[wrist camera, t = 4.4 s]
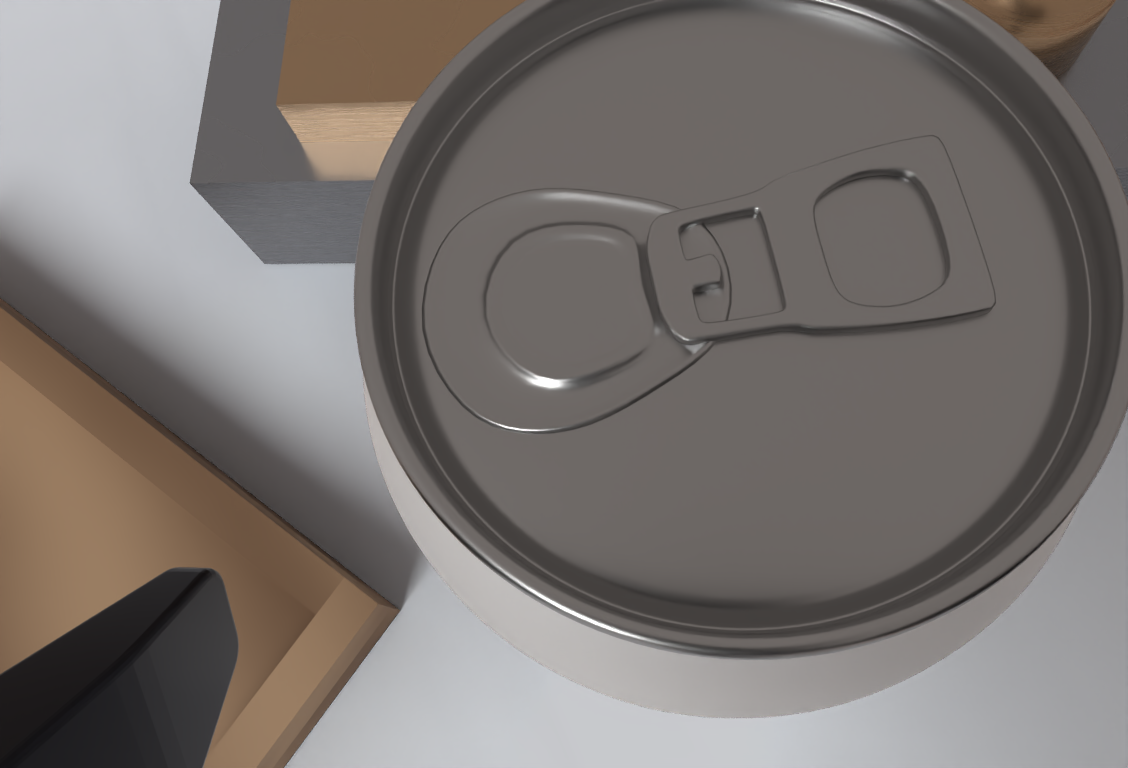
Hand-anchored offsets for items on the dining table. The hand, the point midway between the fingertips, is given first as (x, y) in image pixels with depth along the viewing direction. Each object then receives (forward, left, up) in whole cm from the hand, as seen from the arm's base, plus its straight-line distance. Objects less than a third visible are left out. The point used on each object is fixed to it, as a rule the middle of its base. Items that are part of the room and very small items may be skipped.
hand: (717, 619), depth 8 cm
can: (+2, +1, -10) cm, 10 cm away
